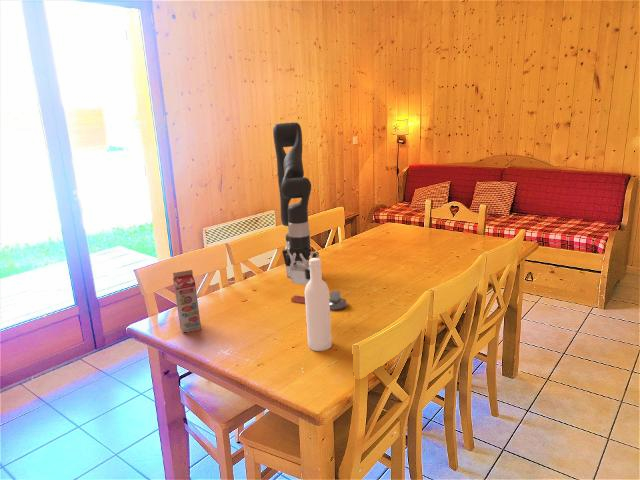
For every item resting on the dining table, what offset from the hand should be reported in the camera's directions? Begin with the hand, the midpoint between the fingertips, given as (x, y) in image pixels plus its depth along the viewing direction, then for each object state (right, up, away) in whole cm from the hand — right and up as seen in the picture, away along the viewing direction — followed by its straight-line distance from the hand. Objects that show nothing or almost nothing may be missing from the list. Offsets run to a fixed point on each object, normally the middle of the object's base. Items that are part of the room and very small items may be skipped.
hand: (302, 277), depth 179 cm
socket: (0, -1, 0) cm, 1 cm away
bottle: (+7, -21, -18) cm, 28 cm away
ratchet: (+6, -12, +16) cm, 20 cm away
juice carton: (-41, -19, +1) cm, 45 cm away
